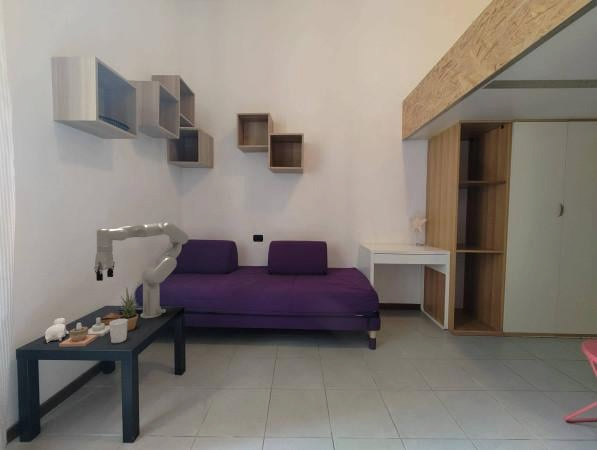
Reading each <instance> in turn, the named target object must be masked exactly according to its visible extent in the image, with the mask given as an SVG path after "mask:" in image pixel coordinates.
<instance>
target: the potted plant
mask: <svg viewBox="0 0 597 450" xmlns="http://www.w3.org/2000/svg"><path fill="white" fill-rule="evenodd" d="M125 294H126V300H125V298H123V296H122V295H119V296H120V298H121V300H122V301H121V302H120V303H119V307H120V308H121V310H120V312H122V316H120V317H119V319H127V320H128V321H127V332H128V331H132V330H134V329H135V328H136V324H137V320H138V319H139V314H138V313H137V306H138V305H139V302H138V303H136V302H137V299H136V294H134V296H133V294H132V293H131V294H129V289H128V286H126V287H125ZM135 304H136V305H135ZM134 305H135V306H134Z"/></svg>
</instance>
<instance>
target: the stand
mask: <svg viewBox="0 0 597 450" xmlns="http://www.w3.org/2000/svg"><path fill="white" fill-rule="evenodd" d="M101 319H102V317H96V318H95V323H96V324H95V323H94V324H93V325H92V326H91V328H88V334H87V335H98V337H104V336H105V335H106V334H108V333H110V326H105V324H104V323H101Z"/></svg>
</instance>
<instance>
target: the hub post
mask: <svg viewBox="0 0 597 450" xmlns="http://www.w3.org/2000/svg"><path fill="white" fill-rule="evenodd" d="M81 327H82V323H81V322H77V323H76V327H75V328H77V331H80V330H82V329H81ZM98 338H99V336H98V335H86V336H84V337H80V338H70V337H69V338H67V339H65V340H63V341H62V342H59V343H58V347H59V348H66V347H71V348H72V347H86V346H87V345H89V344H90V343H92V342H93V341H95V340H96V339H98Z"/></svg>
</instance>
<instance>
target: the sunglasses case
mask: <svg viewBox="0 0 597 450" xmlns="http://www.w3.org/2000/svg"><path fill="white" fill-rule="evenodd" d="M120 316H123V314H122V315H121V314H117V313H115V312H113V311H111V312H110V313H108V314H106V315H104V316H103V317H101V323H104V324H105V326H110V322H111V321H113V320H117V319H119V317H120ZM95 324H96V322H95V323H94V325H95Z"/></svg>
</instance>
